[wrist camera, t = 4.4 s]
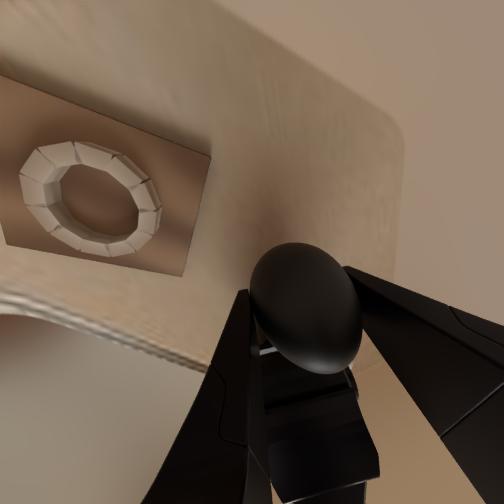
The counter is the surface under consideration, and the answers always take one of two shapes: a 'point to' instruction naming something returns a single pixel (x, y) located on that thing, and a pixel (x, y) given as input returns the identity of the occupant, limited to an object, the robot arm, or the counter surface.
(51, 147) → the egg stand
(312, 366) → the egg
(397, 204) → the counter surface
